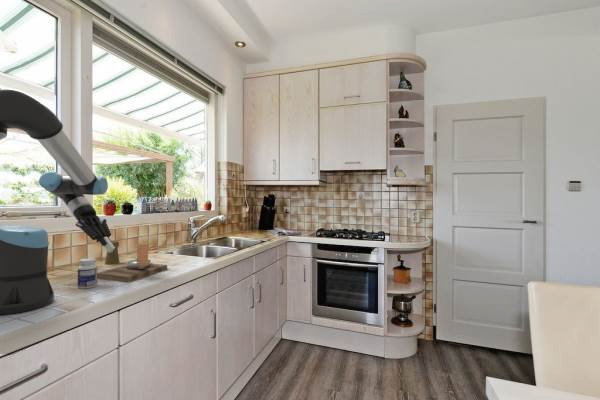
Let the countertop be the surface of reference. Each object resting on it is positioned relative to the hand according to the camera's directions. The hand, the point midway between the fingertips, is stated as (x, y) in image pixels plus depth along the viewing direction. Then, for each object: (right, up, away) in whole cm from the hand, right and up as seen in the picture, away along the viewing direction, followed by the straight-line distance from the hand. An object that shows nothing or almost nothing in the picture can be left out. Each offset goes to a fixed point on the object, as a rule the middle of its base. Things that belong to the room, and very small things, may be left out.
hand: (112, 250), depth 122 cm
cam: (+9, -8, +4) cm, 13 cm away
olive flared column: (-13, -10, +19) cm, 25 cm away
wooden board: (+8, -10, +2) cm, 13 cm away
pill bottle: (+2, -10, -17) cm, 20 cm away
